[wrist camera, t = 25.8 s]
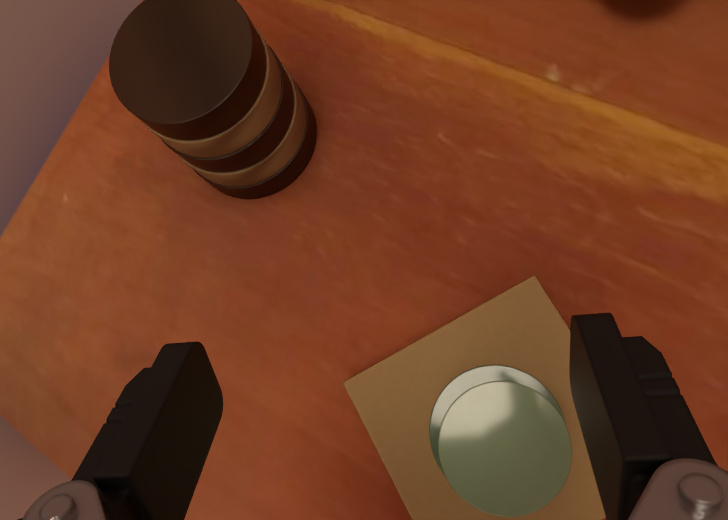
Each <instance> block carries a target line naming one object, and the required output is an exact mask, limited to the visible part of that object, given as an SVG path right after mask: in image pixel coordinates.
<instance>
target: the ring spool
mask: <svg viewBox="0 0 728 520" xmlns="http://www.w3.org/2000/svg"><path fill="white" fill-rule="evenodd" d="M429 437H430V444H431V449H432V452H433V455H434V458H435V460H436V462H437V465H438V466H439V468H440V470H441V471H442V473H443V474H444V475H445V477H446V478H447V480H448V482H449V483H450V485H451V486H452V488H453V489H454V490H455V491H456V493H457V494H458V495H459V496H460V497H461V498H462V499H463V500H465V501H466V502H467V503H468V504H470V505H471V506H473V507H475V508H476V509H478V510H480V511H483V512H485V513H488V514H491V515H495V516H501V517H517V516H524V515H527V514H531V513H533V512H535V511H537V510H540V509H541V508H543V507H544V506H546V505H547V504H548V503H550V502H551V501H552V500H553V499H554V498H555V497H556V496H557V495H558V493H559V492H560V491H561V489H562V487H563V486H564V484H565V482H566V480H567V478H568V474H569V471H570V467H571V461H572V446H571V439H570V435H569V432H568V429H567V426H566V423H565V418H564V416H563V413H562V410H561V408H560V406H559V404H558V402H557V400H556V399H555V398H554V396H553V395H552V393H551V392H550V391H549V390H548V389H547V388H546V386H545V385H543V384H542V383H541V382H540V381H539V380H538V379H536V378H535V377H533V376H532V375H530V374H528V373H526V372H524V371H522V370H519V369H517V368H514V367H510V366H505V365H484V366H479V367H475V368H472V369H469V370H467V371H465V372H463V373H461V374H460V375H458V376H457V377H455V378H454V379H453V380H452V381H450V382H449V383H448V384H447V386H446V387H445V388H444V389H443V390H442V392H441V393H440V395H439V396H438V398H437V400H436V402H435V404H434V407H433V410H432V413H431V418H430V425H429Z"/></svg>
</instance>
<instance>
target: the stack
mask: <svg viewBox="0 0 728 520" xmlns="http://www.w3.org/2000/svg"><path fill="white" fill-rule="evenodd" d="M109 72H110V78H111V83H112V86H113V89H114V91H115V93H116V95H117V97H118V99H119V100H120V101H121V103H122V104H123V105H124V106H125V107H126V108H127V109H128V110H129V111H130V112H131V113H132V114H134V115H135V116H136V117H137V118H139V119H140V120H141V121H142V122H143V123H144V125H145V126H146V127H147V128H148V129H149V130H151V131H152V132H153V133H154V134H155V135H157V136H158V137H159V138H160V139H161V140H162V141H163V142H164V143H165V144H166V145H167V146H168V147H169V148H170V149H171V150H173V151H174V152H175V153H176V154H178V156H179V157H180V158H181V159H182V160H183V161H184V162H185V163H186V164H188V165H189V166H190V167H191V168H193V170H194V171H195V172H196V173H197V174H198V175H199V176H200V177H202V178H203V179H204V180H206V181H207V182H208V183H209V184H211V185H212V186H213V187H215V188H216V189H218V190H219V191H221V192H223V193H225V194H227V195H230V196H233V197H237V198H246V199H252V198H260V197H265V196H268V195H271V194H274V193H276V192H278V191H280V190H282V189H283V188H285V187H286V186H288V185H289V184H290V183H292V182H293V181H294V180H295V179H296V178H297V177H298V176H299V175H300V174H301V173H302V171H303V170H304V168H305V167H306V166H307V164H308V162H309V160H310V158H311V156H312V153H313V151H314V147H315V143H316V121H315V117H314V114H313V111H312V109H311V107H310V105H309V103H308V101H307V99H306V98H305V96H304V94H303V93H302V91H301V89H300V88H299V86H298V85H297V84H296V82H295V81H294V80H293V79H292V77H291V76H290V74H289V73H288V71H287V70H286V68H285V67H284V66H283V65H282V64H281V62H280V61H279V59H278V57H277V56H276V54H275V53H274V51H273V50H272V49H271V48H270V47H269V46H268V44H267V43H266V41H265V40H264V38H263V36H262V35H261V33H260V32H259V30H258V29H257V28H256V27H255V26H254V25H253V23H252V22H251V21H250V19H249V17H248V16H247V14H246V12H245V11H244V9H243V8H242V6H241V5H240V4H239V3H238V2H237V1H236V0H145V1H143V2H142V3H141V4H140V5H138V6H137V7H136V8H135V9H134V10H133V11H132V12H131V14H129V16H128V17H127V18H126V20H125V21H124V22H123V24H122V25H121V27H120V29H119V30H118V32H117V35H116V37H115V39H114V42H113V45H112V48H111V53H110V60H109Z"/></svg>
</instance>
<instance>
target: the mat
mask: <svg viewBox="0 0 728 520" xmlns="http://www.w3.org/2000/svg"><path fill="white" fill-rule="evenodd" d="M569 362H570V330H569V329H568V327H567V325H566V324H565V322H564V321H563V319H562V318H561V316H560V314H559V313H558V311H557V310H556V308H555V307H554V305H553V303H552V302H551V300H550V299H549V297H548V296H547V294H546V292H545V291H544V289H543V288H542V286H541V285H540V283H539V281H538V280H537V278H536V277H535V276H532V277H530V278H529V279H527V280H525V281H523V282H521V283H520V284H518V285H516V286H514V287H512V288H511V289H509V290H507V291H505V292H504V293H502V294H500V295H498V296H496V297H495V298H493V299H491V300H489V301H487V302H486V303H484V304H482V305H480V306H479V307H477V308H475V309H473V310H471V311H470V312H468V313H466V314H464V315H462V316H461V317H459V318H457V319H455V320H454V321H452V322H450V323H448V324H446V325H445V326H443V327H441V328H439V329H437V330H436V331H434V332H432V333H430V334H429V335H427V336H425V337H423V338H421V339H420V340H418V341H416V342H414V343H412V344H411V345H409V346H407V347H405V348H404V349H402V350H400V351H398V352H396V353H395V354H393V355H391V356H389V357H388V358H386V359H384V360H382V361H380V362H379V363H377V364H375V365H373V366H371V367H370V368H368V369H366V370H364V371H363V372H361V373H359V374H357V375H355V376H354V377H352V378H350V379H348V380H346V381H345V382H343V384H344V386H345V388H346V390H347V392H348V394H349V396H350V398H351V400H352V402H353V404H354V406H355V408H356V410H357V412H358V414H359V416H360V418H361V420H362V422H363V424H364V426H365V428H366V430H367V432H368V434H369V436H370V438H371V440H372V442H373V444H374V445H375V447H376V449H377V451H378V453H379V455H380V457H381V459H382V461H383V463H384V465H385V467H386V469H387V471H388V473H389V475H390V477H391V479H392V481H393V483H394V485H395V487H396V489H397V491H398V493H399V495H400V497H401V499H402V501H403V503H404V505H405V507H406V508H407V510H408V512H409V514H410V516H411V518H412V520H602V519H604V518H606V516H605V512H604V509H603V505H602V502H601V498H600V494H599V491H598V487H597V484H596V480H595V477H594V473H593V470H592V466H591V462H590V459H589V455H588V452H587V448H586V445H585V441H584V438H583V434H582V430H581V427H580V423H579V420H578V416H577V413H576V409H575V406H574V402H573V398H572V393H571V387H570V377H569ZM484 365H505V366H510V367H514V368H517V369H519V370H522V371H524V372H526V373H528V374H530V375H532V376H533V377H535V378H536V379H538V380H539V381H540V382H541V383H542V384H543V385H545V386H546V388H547V389H548V390H549V391H550V392H551V393H552V395H553V396H554V398H555V399H556V400H557V402H558V404H559V406H560V408H561V410H562V413H563V416H564V418H565V423H566V426H567V429H568V432H569V435H570V439H571V446H572V461H571V467H570V471H569V474H568V478H567V480H566V482H565V484H564V486H563V487H562V489H561V491H560V492H559V493H558V495H557V496H556V497H555V498H554V499H553V500H552V501H551V502H550V503H548V504H547V505H546V506H544V507H543V508H541V509H540V510H537V511H535V512H533V513H531V514H527V515H524V516H517V517H501V516H495V515H491V514H488V513H485V512H483V511H480V510H478V509H476V508H475V507H473V506H471V505H470V504H468V503H467V502H466V501H465V500H463V499H462V498H461V497H460V496H459V495H458V494H457V493H456V491H455V490H454V489H453V488H452V486H451V485H450V483H449V482H448V480H447V478H446V477H445V475H444V474H443V473H442V471H441V470H440V468H439V466H438V465H437V462H436V460H435V458H434V455H433V452H432V449H431V444H430V437H429V425H430V418H431V413H432V410H433V407H434V404H435V402H436V400H437V398H438V396H439V395H440V393H441V392H442V390H443V389H444V388H445V387H446V386H447V384H448V383H449V382H450V381H452V380H453V379H454V378H455V377H457V376H458V375H460V374H461V373H463V372H465V371H467V370H469V369H472V368H475V367H479V366H484Z"/></svg>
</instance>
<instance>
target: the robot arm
mask: <svg viewBox="0 0 728 520" xmlns="http://www.w3.org/2000/svg"><path fill="white" fill-rule="evenodd" d="M569 377H570V387H571V393H572V398H573V402H574V406H575V409H576V413H577V416H578V420H579V423H580V427H581V430H582V434H583V438H584V441H585V445H586V448H587V452H588V455H589V459H590V462H591V466H592V470H593V473H594V477H595V480H596V484H597V487H598V491H599V494H600V498H601V502H602V505H603V509H604V512H605V516H606V519H607V520H728V472H727V471H725V470H724V469H722V468H720V467H718V465H717V464H716V462H715V461H714V459H713V457H712V455H711V453H710V451H709V449H708V447H707V445H706V443H705V441H704V439H703V437H702V435H701V433H700V431H699V428H698V426H697V424H696V422H695V420H694V418H693V416H692V414H691V412H690V410H689V408H688V406H687V404H686V402H685V400H684V398H683V396H682V395H680V390H679V388H678V386H677V384H676V382H675V380H674V378H672V373H671V371H670V369H669V367H668V365H667V363H666V361H665V359H664V357H663V355H662V353H661V352H660V351H658V350H657V349H656V348H655V347H654V346H653V345H651V344H650V343H649V342H648V341H647V340H646V339H644V338H643V337H642V336H637V337H622V336H621V334H620V331H619V329H618V327H617V324H616V322H615V320H614V317H613V315H612V314H611V313H598V314H585V315H573V316H572V317H571V328H570V362H569ZM222 411H223V396H222V391H221V388H220V386H219V383H218V381H217V378H216V376H215V373H214V371H213V368H212V366H211V363H210V361H209V358H208V356H207V353H206V351H205V348H204V346H203V345H202V344H201V343H200V342H185V343H172V344H166V345H164V346H163V347H162V349H161V350H160V352H159V354H158V356H157V358H156V359H155V361H154V363H153V365H152V367H151V368H144V369H143V370H141V371H140V372H139V373H138V374H137V375H136V376H135V377H134V378H133V379H132V380H131V381H130V382H129V383H128V384H127V385H126V386H125V388H124V390H123V391H122V393H121V395H120V397H119V398H118V400H117V402H116V404H115V408H113V409H112V411H111V412H110V414H109V416H108V418H107V419H106V420H107V423H105V424H104V425H103V426H102V428H101V430H100V432H99V433H98V435H97V437H96V439H95V440H94V442H93V444H92V446H91V447H90V449H89V451H88V453H87V454H86V456H85V458H84V460H83V461H82V463H81V465H80V467H79V468H78V470H77V472H76V474H75V475H74V477H73V479H72V480H71V481H70V482H66V483H63V484H60V485H58V486H56V487H54V488H52V489H50V490H49V491H48V492H46V493H44V494H43V495H42V496H41V497H40V498H39V499H37V500H36V501H35V502H34V503H33V504H32V505H31V507H30V508H29V509H28V511H27V512H26V514H25V515H24V517H23V518H21V519H18V520H184V518H185V515H186V513H187V510H188V507H189V504H190V502H191V499H192V496H193V494H194V491H195V488H196V485H197V483H198V480H199V477H200V474H201V472H202V469H203V466H204V463H205V461H206V458H207V455H208V452H209V450H210V447H211V444H212V442H213V439H214V436H215V433H216V431H217V428H218V425H219V422H220V420H221V416H222Z"/></svg>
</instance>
